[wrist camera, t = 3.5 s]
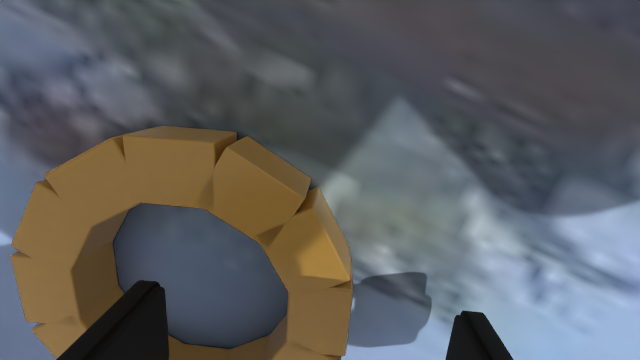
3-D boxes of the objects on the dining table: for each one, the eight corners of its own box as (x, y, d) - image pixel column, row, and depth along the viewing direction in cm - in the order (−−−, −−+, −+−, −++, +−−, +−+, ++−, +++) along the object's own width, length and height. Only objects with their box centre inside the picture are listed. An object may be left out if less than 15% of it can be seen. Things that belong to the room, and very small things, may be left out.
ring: (40, 115, 11) (-24, 122, 9) (364, 141, 10) (369, 155, 9) (87, 368, 14) (47, 412, 12) (336, 397, 14) (334, 448, 12)
